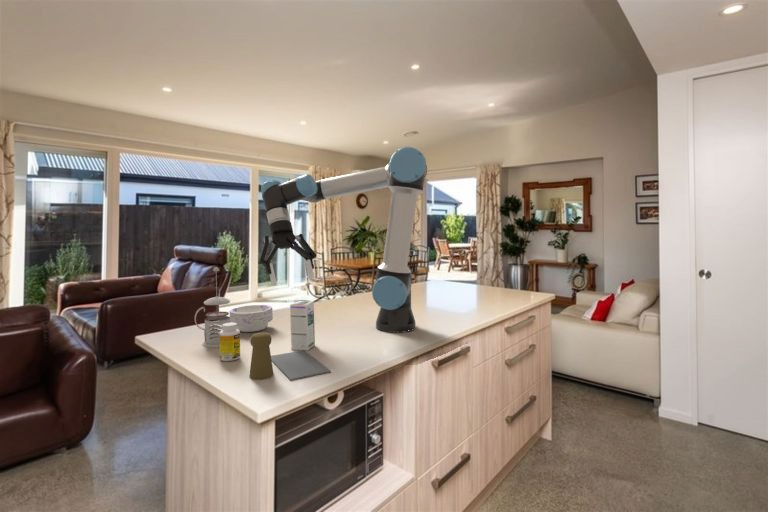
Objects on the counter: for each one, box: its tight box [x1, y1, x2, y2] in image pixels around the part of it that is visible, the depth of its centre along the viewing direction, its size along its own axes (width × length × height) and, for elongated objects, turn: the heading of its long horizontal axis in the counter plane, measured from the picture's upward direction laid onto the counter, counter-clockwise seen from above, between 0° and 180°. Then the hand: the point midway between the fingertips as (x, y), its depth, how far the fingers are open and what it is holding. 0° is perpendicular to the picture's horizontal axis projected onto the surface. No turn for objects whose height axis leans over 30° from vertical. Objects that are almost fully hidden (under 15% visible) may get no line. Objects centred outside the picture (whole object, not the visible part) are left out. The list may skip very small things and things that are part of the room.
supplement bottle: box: [219, 322, 241, 362], centre depth 113 cm, size 6×6×10 cm
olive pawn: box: [249, 331, 275, 381], centre depth 100 cm, size 6×6×11 cm
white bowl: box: [228, 304, 274, 333], centre depth 145 cm, size 15×15×8 cm
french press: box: [194, 266, 231, 348], centre depth 127 cm, size 10×12×25 cm
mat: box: [271, 350, 332, 382], centre depth 108 cm, size 20×11×1 cm, turn 32°
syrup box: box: [289, 300, 316, 352], centre depth 123 cm, size 6×6×14 cm
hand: (293, 280), depth 131 cm, fingers open, 13 cm apart
